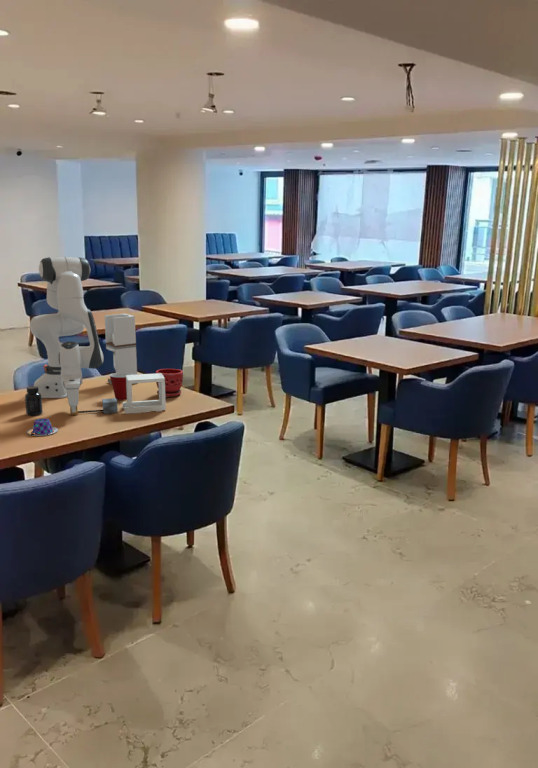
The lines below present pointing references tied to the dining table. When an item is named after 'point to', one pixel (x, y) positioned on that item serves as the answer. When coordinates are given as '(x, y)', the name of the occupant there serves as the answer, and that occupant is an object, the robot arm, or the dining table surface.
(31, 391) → the supplement bottle
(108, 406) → the grey mallet
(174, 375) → the plant pot
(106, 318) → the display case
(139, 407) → the shelf
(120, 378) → the plastic cup
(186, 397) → the dining table surface
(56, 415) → the dining table surface
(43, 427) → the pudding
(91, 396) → the dining table surface
